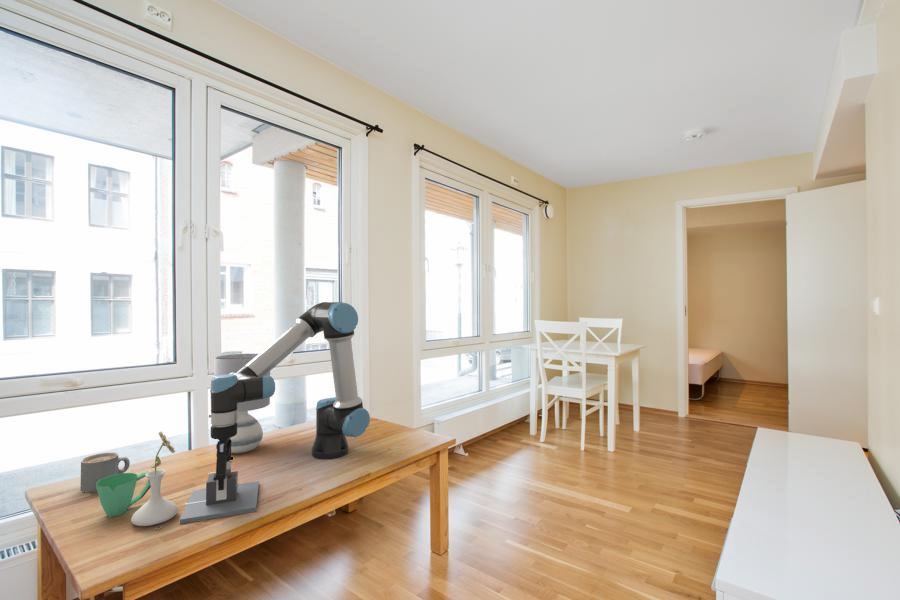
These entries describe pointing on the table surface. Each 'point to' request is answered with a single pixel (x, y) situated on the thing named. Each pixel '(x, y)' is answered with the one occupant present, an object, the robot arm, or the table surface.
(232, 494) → the knob
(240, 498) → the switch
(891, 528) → the table surface
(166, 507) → the flower in vase
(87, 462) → the coffee mug
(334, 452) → the robot arm
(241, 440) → the lamp
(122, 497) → the mug
